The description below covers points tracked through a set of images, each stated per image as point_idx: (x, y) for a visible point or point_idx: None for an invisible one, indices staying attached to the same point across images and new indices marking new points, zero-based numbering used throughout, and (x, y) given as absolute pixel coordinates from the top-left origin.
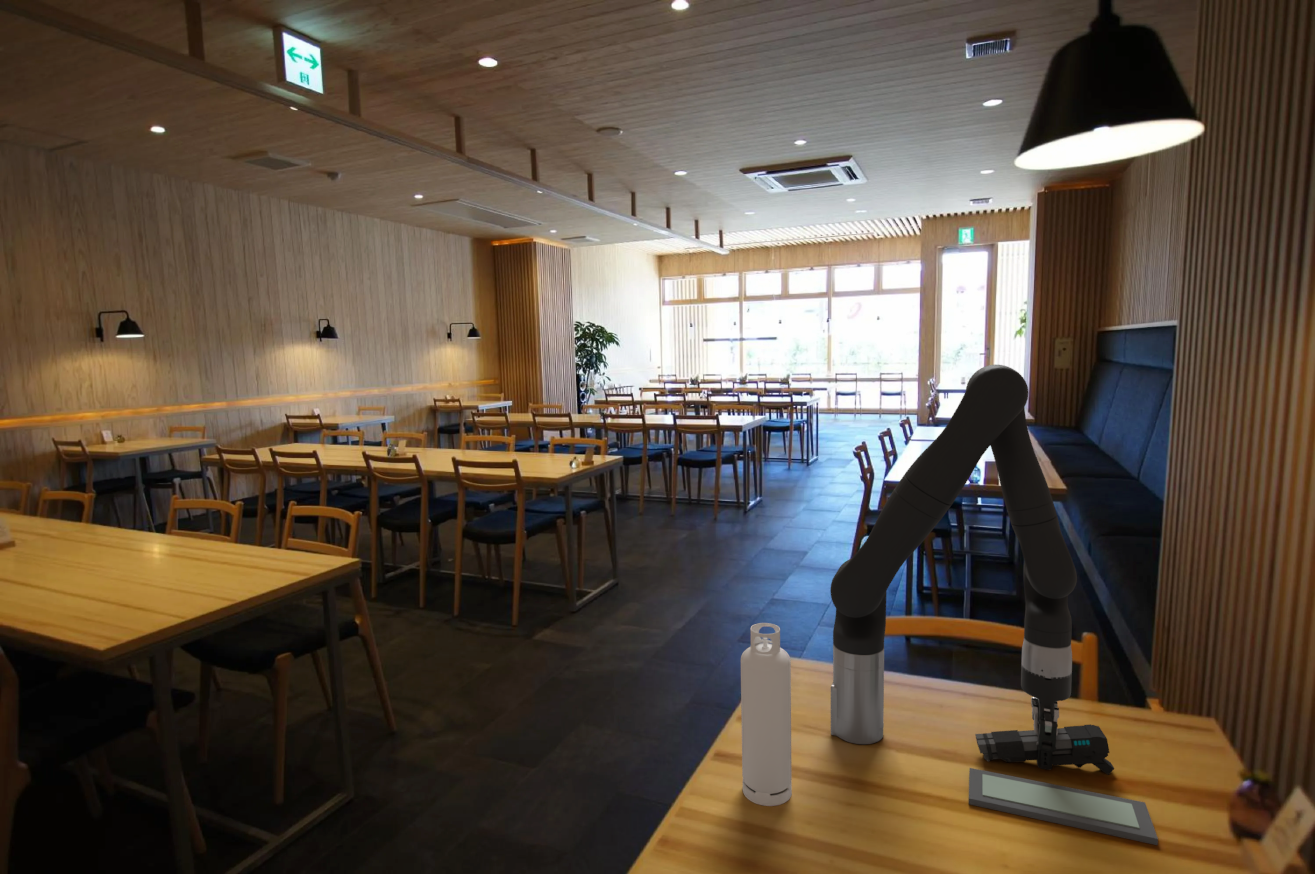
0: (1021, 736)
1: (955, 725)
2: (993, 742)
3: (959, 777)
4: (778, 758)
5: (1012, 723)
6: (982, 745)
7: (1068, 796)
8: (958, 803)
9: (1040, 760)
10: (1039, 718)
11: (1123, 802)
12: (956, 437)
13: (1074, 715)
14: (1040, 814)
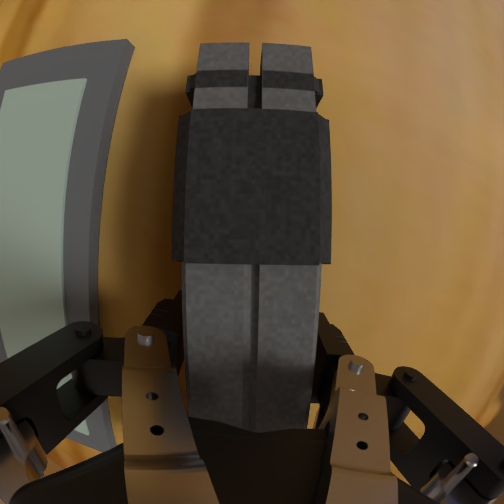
0: (257, 272)
1: (449, 76)
2: (208, 105)
3: (111, 25)
4: None
5: (479, 268)
6: (199, 59)
7: (44, 326)
8: (17, 47)
9: (154, 309)
10: (90, 461)
11: (84, 425)
12: None
13: (474, 404)
14: None
